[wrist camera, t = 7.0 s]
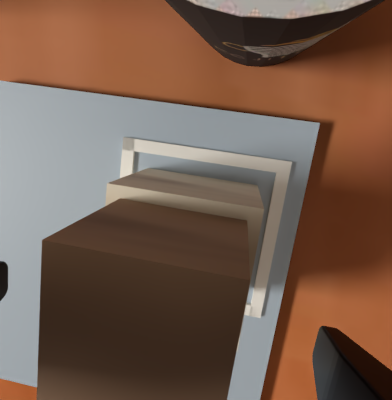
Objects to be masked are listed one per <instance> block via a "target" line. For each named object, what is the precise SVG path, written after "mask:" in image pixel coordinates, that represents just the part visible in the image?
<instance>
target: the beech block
mask: <svg viewBox="0 0 392 400" xmlns="http://www.w3.org/2000/svg"><path fill="white" fill-rule="evenodd" d="M118 199H126V200H132V201H138V202H143V203H149V204H155V205H161V206H166V207H172V208H178V209H184V210H189V211H195V212H201V213H207V214H213V215H218V216H224V217H230V218H236V219H241V220H247V225H248V245H249V265H250V282H251V277H252V271H253V266H254V261H255V255H256V250H257V245H258V240H259V234H260V229H261V224H262V219H263V213H264V206H263V203H262V199H261V196H260V192H259V188H258V185H253V184H247V183H241V182H234V181H228V180H221V179H215V178H209V177H202V176H196V175H189V174H183V173H177V172H170V171H164V170H157V169H151V168H147V169H144V170H141V171H139V172H136V173H133V174H130V175H128V176H125V177H122V178H120V179H117V180H114V181H112V182H109V183H107V189H106V202H105V206H107V205H108V204H110V203H112V202H114V201H116V200H118ZM249 287H250V284H249ZM248 292H249V289H248ZM247 298H248V294H247ZM246 303H247V300H246ZM245 308H246V305H245ZM244 313H245V310H244ZM243 319H244V315H243ZM242 324H243V320H242ZM241 329H242V325H241ZM240 334H241V330H240ZM239 340H240V336H239ZM238 345H239V341H238ZM237 350H238V346H237Z"/></svg>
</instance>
